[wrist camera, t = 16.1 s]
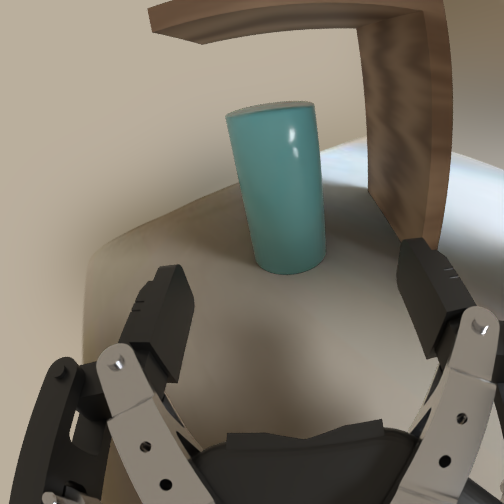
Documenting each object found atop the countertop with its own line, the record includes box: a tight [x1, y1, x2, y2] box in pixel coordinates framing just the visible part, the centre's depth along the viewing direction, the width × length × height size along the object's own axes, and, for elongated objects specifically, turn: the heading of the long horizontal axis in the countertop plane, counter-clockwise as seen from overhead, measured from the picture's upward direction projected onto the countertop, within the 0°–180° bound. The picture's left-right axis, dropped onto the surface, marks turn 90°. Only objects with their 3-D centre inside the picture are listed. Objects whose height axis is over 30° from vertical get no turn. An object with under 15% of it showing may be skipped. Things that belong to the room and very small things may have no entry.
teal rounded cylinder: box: [225, 101, 326, 275], centre depth 20 cm, size 6×6×11 cm
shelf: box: [148, 0, 453, 250], centre depth 20 cm, size 13×16×18 cm
